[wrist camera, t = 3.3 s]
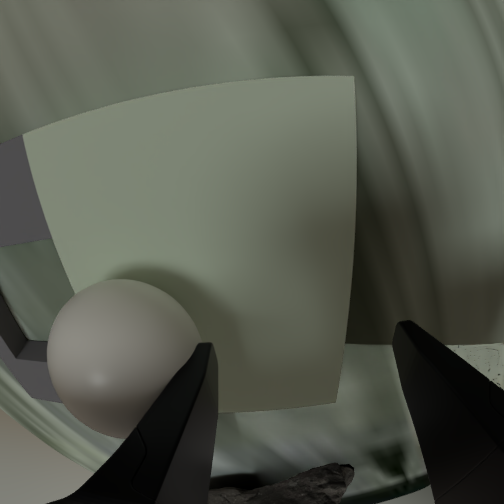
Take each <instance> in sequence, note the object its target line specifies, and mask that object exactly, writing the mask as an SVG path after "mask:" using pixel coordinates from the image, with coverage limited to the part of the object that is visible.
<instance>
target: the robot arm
mask: <svg viewBox="0 0 504 504" xmlns="http://www.w3.org/2000/svg"><path fill="white" fill-rule="evenodd" d="M392 347H393V351H394V355H395V360H396V364H397V368H398V373H399V377H400V382H401V386H402V390H403V393H404V397H405V400H406V403H407V406H408V409H409V412H410V415H411V418H412V421H413V424H414V428H415V431H416V434H417V437H418V441H419V444H420V448H421V451H422V455H423V458H424V462H425V465H426V469H427V473H428V477H429V480H430V484H431V488H432V492H433V497H434V500H435V504H504V390H502V389H501V388H500V387H498V386H497V385H496V384H495V383H493V382H492V381H490V380H489V379H488V378H487V377H486V376H484V375H483V374H482V373H480V372H479V371H478V370H477V369H475V368H474V367H473V366H471V365H470V364H469V363H467V362H466V361H465V360H464V359H462V358H461V357H460V356H458V355H457V354H456V353H454V352H453V351H452V350H450V349H449V348H448V347H446V346H445V345H444V344H442V343H441V342H440V341H438V340H437V339H436V338H434V337H433V336H432V335H430V334H429V333H428V332H426V331H425V330H424V329H422V328H421V327H419V326H418V325H417V324H415V323H414V322H413V321H411V320H406V321H400V322H398V323H397V325H396V329H395V333H394V337H393V341H392ZM217 420H218V360H217V356H216V353H215V349H214V345H213V343H211V342H202V343H198V344H197V346H196V348H195V350H194V352H193V354H192V355H191V357H190V358H189V359H188V361H187V362H186V363H185V364H184V365H183V366H182V367H181V368H180V369H179V370H178V371H177V372H176V373H175V375H174V376H173V377H172V379H171V380H170V381H169V383H168V384H167V385H166V387H165V388H164V389H163V391H162V392H161V393H160V395H159V396H158V397H157V399H156V400H155V401H154V403H153V404H152V405H151V407H150V408H149V409H148V411H147V412H146V413H145V415H144V416H143V417H142V419H141V420H140V421H139V423H138V424H137V427H135V428H134V429H133V431H132V432H131V433H130V434H129V436H128V437H127V438H126V440H125V441H124V442H123V443H122V444H121V446H120V447H119V448H118V449H117V450H116V452H115V453H114V454H113V455H112V456H111V457H110V458H109V459H108V460H107V461H106V462H105V463H104V464H103V465H102V466H101V467H100V468H99V469H98V470H97V471H96V472H95V473H94V475H93V476H91V477H90V478H89V479H88V480H87V481H86V482H85V483H84V484H83V485H82V486H81V487H80V488H79V489H78V490H77V491H75V492H74V493H72V494H71V495H69V496H67V497H65V498H63V499H60V500H57V501H53V502H50V503H47V504H207V502H208V493H209V485H210V477H211V468H212V460H213V452H214V444H215V436H216V428H217Z"/></svg>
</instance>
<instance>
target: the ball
mask: <svg viewBox="0 0 504 504" xmlns="http://www.w3.org/2000/svg"><path fill="white" fill-rule="evenodd" d="M198 343H202V340H201V337H200V334H199V332H198V329H197V327H196V325H195V323H194V322H193V320H192V319H191V317H190V316H189V314H188V313H187V312H186V310H185V309H184V308H183V307H182V306H181V305H180V304H179V303H178V302H177V301H176V300H175V299H174V298H172V297H171V296H170V295H168V294H167V293H166V292H164V291H162V290H160V289H158V288H156V287H154V286H152V285H150V284H147V283H144V282H140V281H135V280H129V279H112V280H107V281H102V282H98V283H95V284H93V285H90V286H88V287H87V288H85V289H83V290H81V291H79V292H78V293H77V294H75V295H74V296H73V297H72V298H71V299H70V300H69V301H68V302H67V303H66V304H65V305H64V306H63V307H62V309H61V310H60V312H59V313H58V315H57V316H56V318H55V321H54V323H53V325H52V327H51V331H50V334H49V338H48V345H47V364H48V370H49V375H50V378H51V381H52V384H53V386H54V388H55V390H56V393H57V395H58V396H59V398H60V400H61V401H62V402H63V404H64V405H65V407H66V408H67V409H68V410H69V411H70V412H71V413H72V414H73V415H74V416H75V417H76V418H77V419H78V420H79V421H81V422H82V423H83V424H85V425H86V426H88V427H89V428H91V429H93V430H95V431H97V432H99V433H102V434H104V435H107V436H111V437H115V438H121V439H126V438H127V437H128V436H129V434H130V433H131V432H132V431H133V429H134V428H135V427H137V424H138V423H139V421H140V420H141V419H142V417H143V416H144V415H145V413H146V412H147V411H148V409H149V408H150V407H151V405H152V404H153V403H154V401H155V400H156V399H157V397H158V396H159V395H160V393H161V392H162V391H163V389H164V388H165V387H166V385H167V384H168V383H169V381H170V380H171V379H172V377H173V376H174V375H175V373H176V372H177V371H178V370H179V369H180V368H181V367H182V366H183V365H184V364H185V363H186V362H187V361H188V359H189V358H190V357H191V355H192V354H193V352H194V350H195V348H196V346H197V344H198Z"/></svg>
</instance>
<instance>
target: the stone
mask: <svg viewBox="0 0 504 504" xmlns="http://www.w3.org/2000/svg"><path fill="white" fill-rule="evenodd" d="M353 477H354V467H352V466H351V465H350V464H341V465H339V464H338V463H331V464H327V465H324V466H320V467H315V468H311V469H310V470H308V471H305V472H302V473H299V474H297V475H296V476H294V477H291V478H289V479H288V480H284V481H281V482H279V483H277V484H273V485H267V486H264V487H260V488H255V489H253V490H246V489H239V488H235V487H224V488H220V489H210V490H209V493H208V502H207V504H339V502H340V500H341V498H342V496H343V494H344V493H345V491H346V488H347V487H348V485H349V484H350V483H351V482H352V480H353Z"/></svg>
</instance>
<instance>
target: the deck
mask: <svg viewBox="0 0 504 504" xmlns="http://www.w3.org/2000/svg"><path fill="white" fill-rule="evenodd" d="M356 188H357V136H356V104H355V85H354V76H300V77H280V78H266V79H254V80H244V81H235V82H226V83H219V84H211V85H205V86H198V87H192V88H186V89H180V90H175V91H170V92H165V93H160V94H155V95H150V96H146V97H141V98H137V99H133V100H129V101H125V102H121V103H117V104H113V105H109V106H106V107H102V108H98V109H95V110H92V111H88V112H85V113H82V114H78V115H75V116H72V117H69V118H66V119H63V120H60V121H57V122H54V123H52V124H49V125H46V126H43V127H41V128H38V129H35V130H33V131H30V132H28V133H25V134H23V135H20V136H18V137H15V138H13V139H11V140H8V141H6V142H4V143H1V144H0V247H3V246H9V245H15V244H20V243H26V242H32V241H38V240H44V239H50V238H52V239H53V241H54V244H55V247H56V249H57V252H58V254H59V257H60V259H61V262H62V264H63V267H64V269H65V272H66V274H67V276H68V279H69V281H70V283H71V286H72V288H73V290H74V292H75V294H77V293H78V292H79V291H81V290H83V289H85V288H87V287H88V286H90V285H93V284H95V283H98V282H102V281H107V280H112V279H129V280H135V281H140V282H144V283H147V284H150V285H152V286H154V287H156V288H158V289H160V290H162V291H164V292H166V293H167V294H168V295H170V296H171V297H172V298H174V299H175V300H176V301H177V302H178V303H179V304H180V305H181V306H182V307H183V308H184V309H185V310H186V312H187V313H188V314H189V316H190V317H191V319H192V320H193V322H194V323H195V325H196V327H197V329H198V332H199V334H200V337H201V340H202V342H211V343H213V345H214V349H215V353H216V356H217V360H218V413H235V412H254V411H268V410H279V409H290V408H299V407H307V406H315V405H323V404H330V403H336V398H337V393H338V387H339V380H340V374H341V367H342V361H343V354H344V346H345V339H346V330H347V322H348V313H349V304H350V293H351V282H352V270H353V257H354V241H355V220H356ZM47 345H48V342H44V341H28V340H26V338H25V337H24V335H23V333H22V332H21V330H20V328H19V327H18V325H17V323H16V322H15V320H14V318H13V316H12V315H11V313H10V311H9V309H8V307H7V306H6V304H5V302H4V300H3V298H2V296H1V294H0V357H1V359H2V360H3V362H4V363H5V364H6V366H7V367H8V368H9V370H10V371H11V372H12V374H13V375H14V376H15V378H16V379H17V380H18V382H19V383H20V384H21V385H22V387H23V388H24V389H25V390H26V392H27V393H28V394H29V395H30V396H31V398H36V399H41V400H47V401H52V402H58V403H63V402H62V401H61V400H60V398H59V396H58V395H57V393H56V390H55V388H54V386H53V384H52V381H51V378H50V375H49V370H48V364H47Z"/></svg>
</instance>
